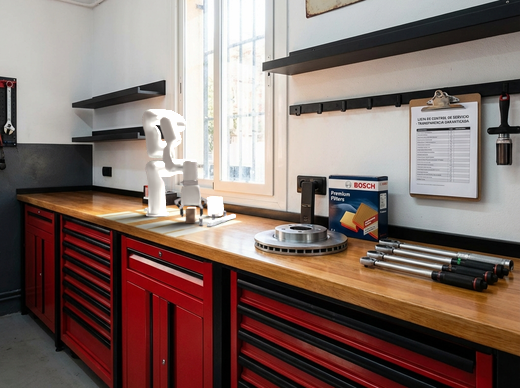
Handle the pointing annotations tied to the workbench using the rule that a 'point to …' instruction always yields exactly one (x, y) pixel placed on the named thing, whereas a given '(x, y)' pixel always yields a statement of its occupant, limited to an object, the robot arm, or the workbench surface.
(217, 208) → the mug
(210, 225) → the cleat rail
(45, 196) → the workbench surface
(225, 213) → the screw pegs
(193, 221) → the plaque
